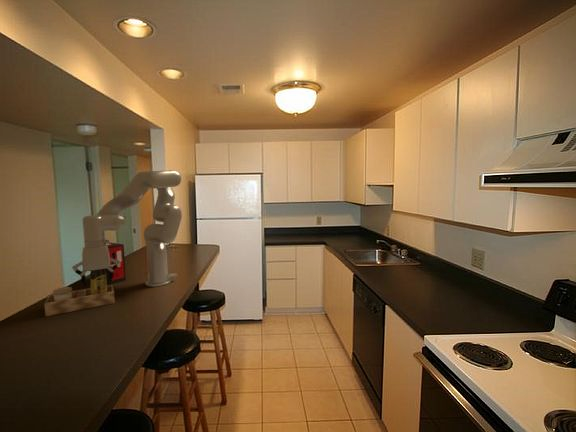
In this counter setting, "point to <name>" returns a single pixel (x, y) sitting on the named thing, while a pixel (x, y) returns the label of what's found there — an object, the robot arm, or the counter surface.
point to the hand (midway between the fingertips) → (98, 282)
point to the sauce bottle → (98, 282)
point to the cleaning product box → (119, 273)
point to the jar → (62, 293)
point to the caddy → (79, 301)
